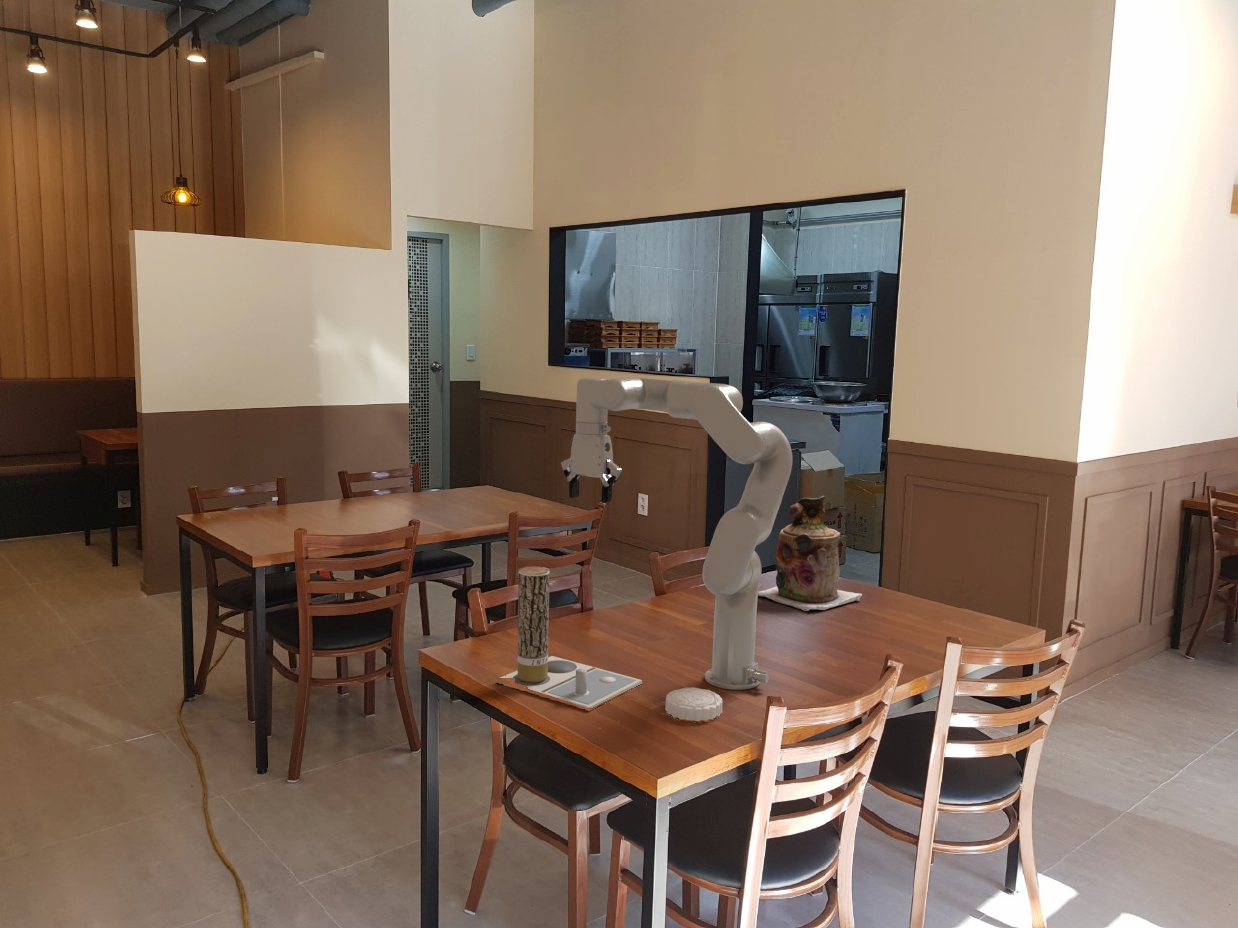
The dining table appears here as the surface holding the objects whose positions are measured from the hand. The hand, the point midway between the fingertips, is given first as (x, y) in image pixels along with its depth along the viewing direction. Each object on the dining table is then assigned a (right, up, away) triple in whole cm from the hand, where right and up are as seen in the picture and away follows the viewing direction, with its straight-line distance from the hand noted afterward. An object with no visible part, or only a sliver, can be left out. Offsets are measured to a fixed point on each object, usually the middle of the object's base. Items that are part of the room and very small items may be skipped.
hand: (590, 499), depth 233 cm
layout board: (-4, -41, -17) cm, 44 cm away
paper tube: (-12, -40, -17) cm, 45 cm away
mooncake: (+23, -44, -30) cm, 58 cm away
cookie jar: (+64, -33, +59) cm, 93 cm away
